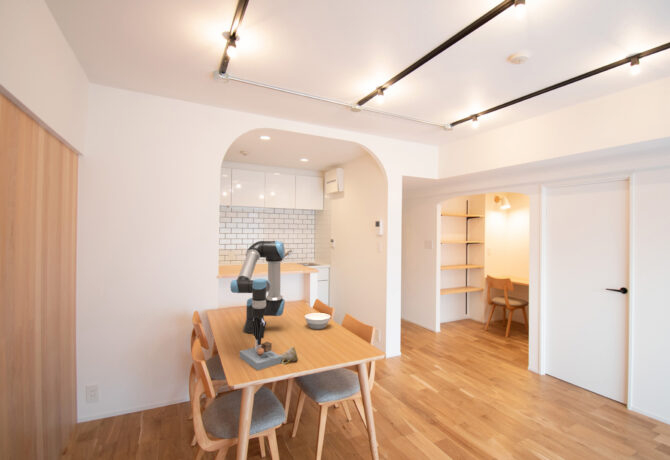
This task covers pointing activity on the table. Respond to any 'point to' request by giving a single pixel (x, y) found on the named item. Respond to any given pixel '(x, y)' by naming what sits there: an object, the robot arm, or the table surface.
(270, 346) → the walnut cube
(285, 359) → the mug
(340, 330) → the table surface
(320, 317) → the bowl
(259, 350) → the ball
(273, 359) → the grey flat block
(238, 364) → the table surface
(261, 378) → the table surface
